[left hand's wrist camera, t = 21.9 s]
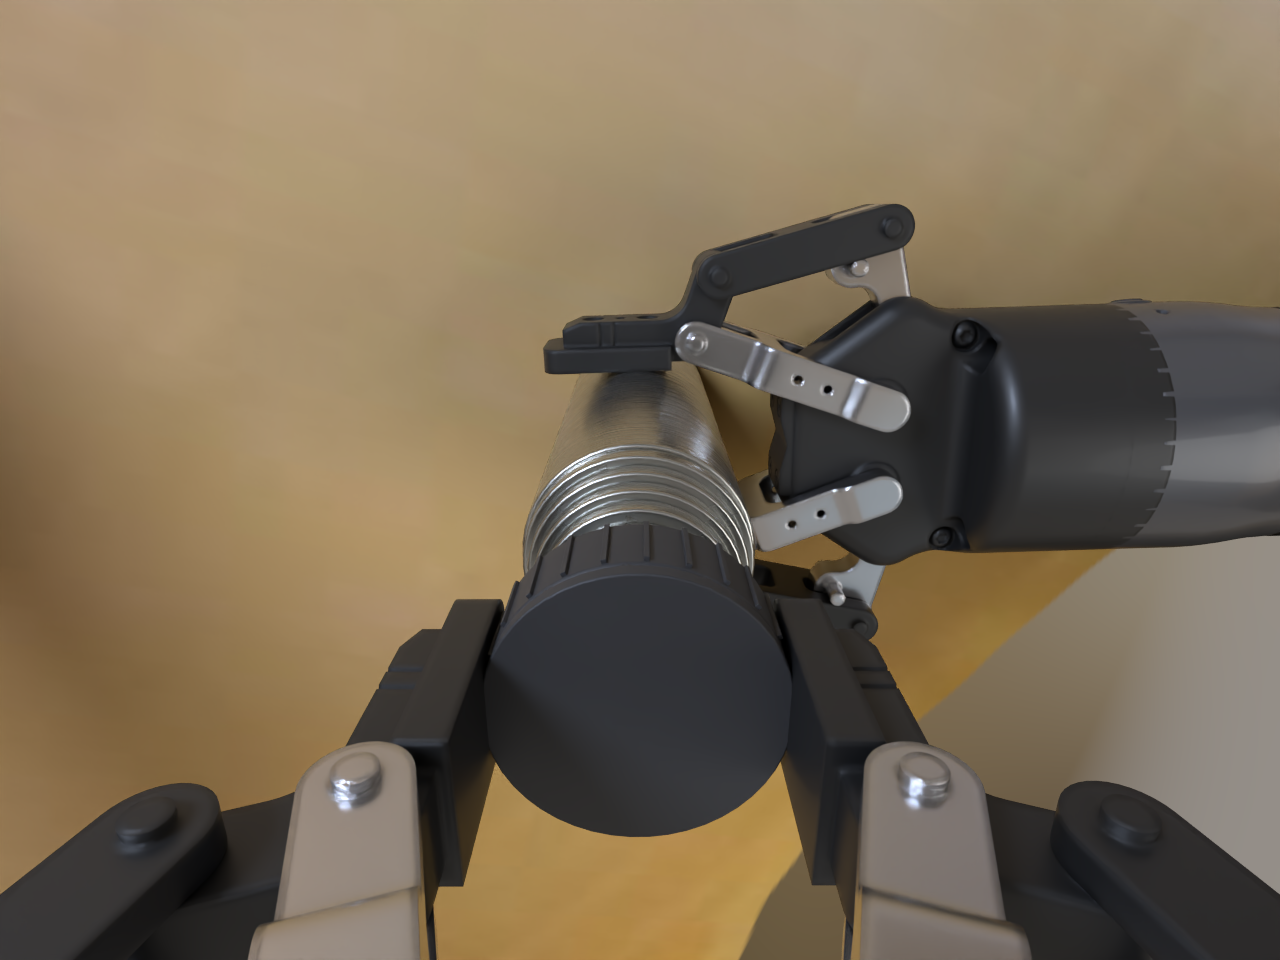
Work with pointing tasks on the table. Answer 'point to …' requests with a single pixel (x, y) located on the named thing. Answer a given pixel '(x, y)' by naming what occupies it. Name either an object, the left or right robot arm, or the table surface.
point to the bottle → (639, 465)
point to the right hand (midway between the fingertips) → (556, 444)
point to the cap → (638, 682)
